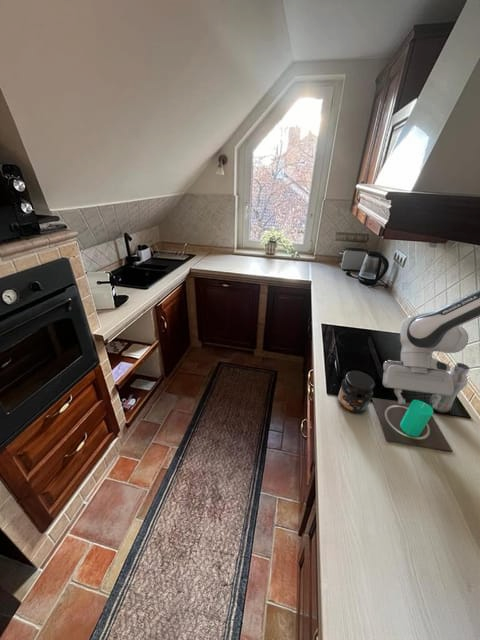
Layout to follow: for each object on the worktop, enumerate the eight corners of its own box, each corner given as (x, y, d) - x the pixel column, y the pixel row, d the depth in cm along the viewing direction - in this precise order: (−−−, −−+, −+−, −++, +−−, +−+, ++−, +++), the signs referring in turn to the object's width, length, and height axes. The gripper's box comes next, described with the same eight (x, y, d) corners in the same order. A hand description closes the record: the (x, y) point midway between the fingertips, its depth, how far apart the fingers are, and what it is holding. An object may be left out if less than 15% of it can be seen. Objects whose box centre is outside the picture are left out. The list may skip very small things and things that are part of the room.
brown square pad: (425, 406, 94) (426, 405, 93) (451, 452, 78) (452, 450, 78) (371, 398, 96) (371, 397, 96) (386, 441, 81) (387, 440, 80)
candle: (395, 423, 86) (408, 399, 80) (408, 418, 88) (422, 394, 82) (411, 439, 81) (426, 413, 75) (424, 433, 83) (440, 408, 77)
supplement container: (330, 397, 96) (337, 373, 90) (351, 389, 100) (360, 366, 94) (351, 419, 88) (360, 394, 82) (373, 410, 92) (383, 385, 85)
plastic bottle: (452, 412, 92) (480, 370, 81) (439, 417, 89) (467, 375, 79) (434, 399, 97) (459, 358, 87) (422, 403, 94) (446, 362, 84)
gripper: (387, 358, 83) (387, 401, 80) (455, 366, 81) (458, 411, 77) (379, 360, 89) (379, 400, 86) (442, 367, 87) (444, 410, 83)
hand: (417, 406), depth 82 cm, fingers open, 8 cm apart
